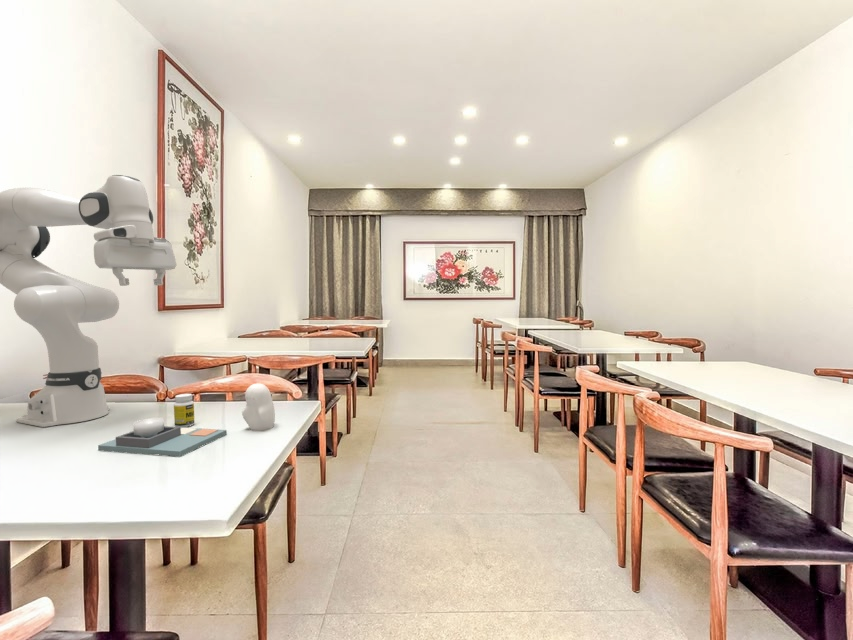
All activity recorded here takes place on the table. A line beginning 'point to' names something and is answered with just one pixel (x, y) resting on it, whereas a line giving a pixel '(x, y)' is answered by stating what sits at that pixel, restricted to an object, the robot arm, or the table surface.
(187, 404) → the supplement bottle
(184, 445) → the board
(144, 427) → the dome
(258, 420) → the figurine
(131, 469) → the table surface
